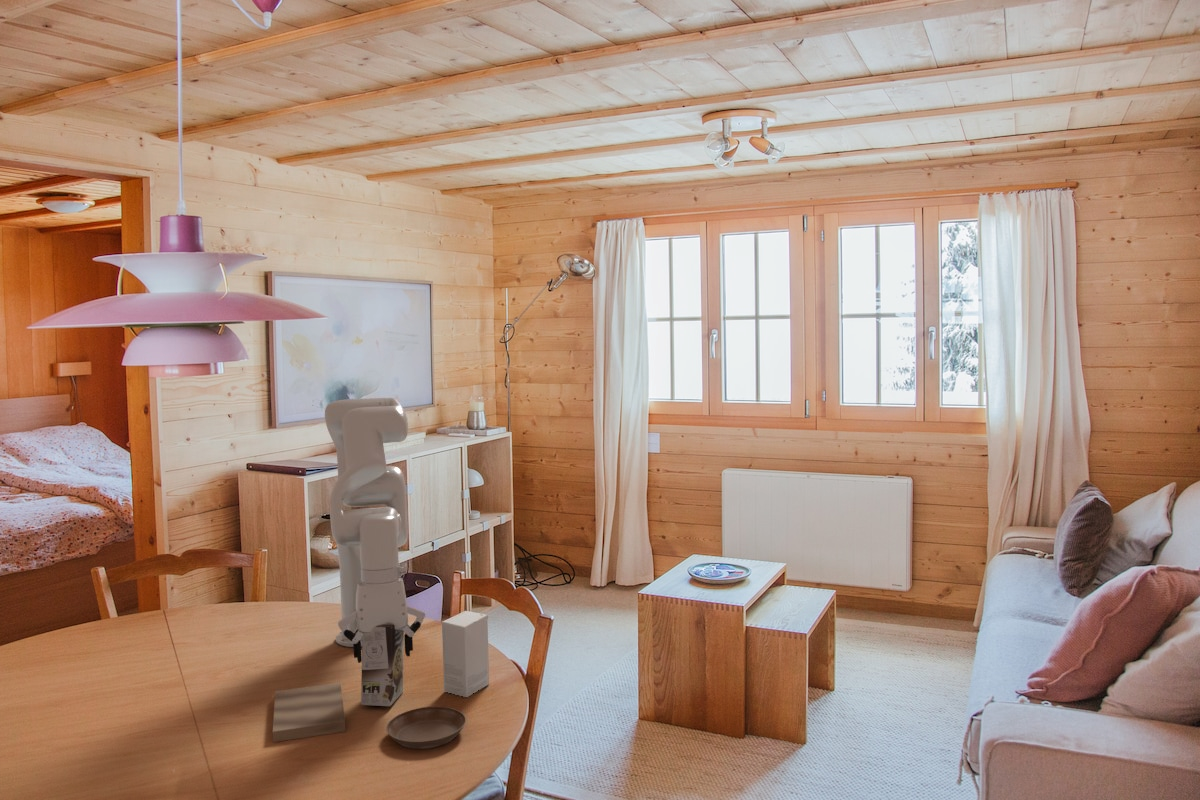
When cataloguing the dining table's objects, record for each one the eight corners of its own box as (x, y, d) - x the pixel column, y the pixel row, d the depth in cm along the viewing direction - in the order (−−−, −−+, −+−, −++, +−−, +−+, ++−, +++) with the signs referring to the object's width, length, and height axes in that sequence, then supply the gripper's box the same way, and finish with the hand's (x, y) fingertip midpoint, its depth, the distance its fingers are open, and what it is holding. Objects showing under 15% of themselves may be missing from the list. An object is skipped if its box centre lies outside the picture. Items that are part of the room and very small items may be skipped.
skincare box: (467, 679, 197) (465, 609, 196) (491, 685, 194) (490, 614, 193) (442, 693, 190) (440, 620, 189) (466, 699, 187) (464, 625, 186)
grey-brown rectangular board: (275, 700, 188) (275, 691, 188) (340, 691, 192) (340, 682, 192) (273, 742, 169) (272, 731, 169) (345, 731, 173) (345, 721, 173)
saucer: (389, 760, 162) (388, 745, 161) (384, 725, 176) (384, 712, 176) (471, 748, 166) (471, 733, 166) (461, 715, 180) (460, 701, 180)
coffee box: (391, 706, 182) (392, 626, 182) (360, 705, 182) (360, 625, 182) (404, 692, 191) (405, 615, 191) (374, 691, 191) (375, 615, 191)
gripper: (421, 566, 191) (424, 646, 192) (335, 575, 185) (339, 657, 186) (425, 574, 183) (428, 657, 184) (336, 583, 178) (340, 669, 179)
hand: (383, 657), depth 185 cm, fingers open, 9 cm apart
